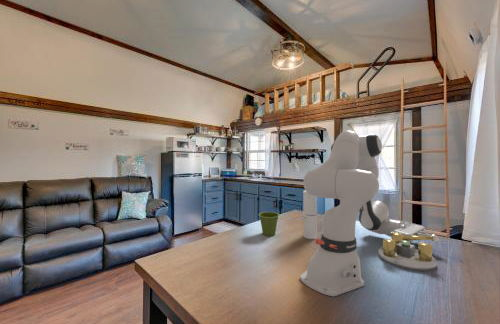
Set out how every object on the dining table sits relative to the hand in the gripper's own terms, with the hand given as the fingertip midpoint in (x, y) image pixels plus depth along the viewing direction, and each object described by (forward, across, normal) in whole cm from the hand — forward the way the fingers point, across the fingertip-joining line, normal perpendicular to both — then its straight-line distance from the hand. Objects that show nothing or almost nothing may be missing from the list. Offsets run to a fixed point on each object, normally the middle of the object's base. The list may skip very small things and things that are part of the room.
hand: (430, 236), depth 103 cm
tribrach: (-4, -19, +6) cm, 20 cm away
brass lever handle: (-4, -8, +4) cm, 10 cm away
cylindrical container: (-46, -29, +7) cm, 54 cm away
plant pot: (-63, -44, +7) cm, 77 cm away
